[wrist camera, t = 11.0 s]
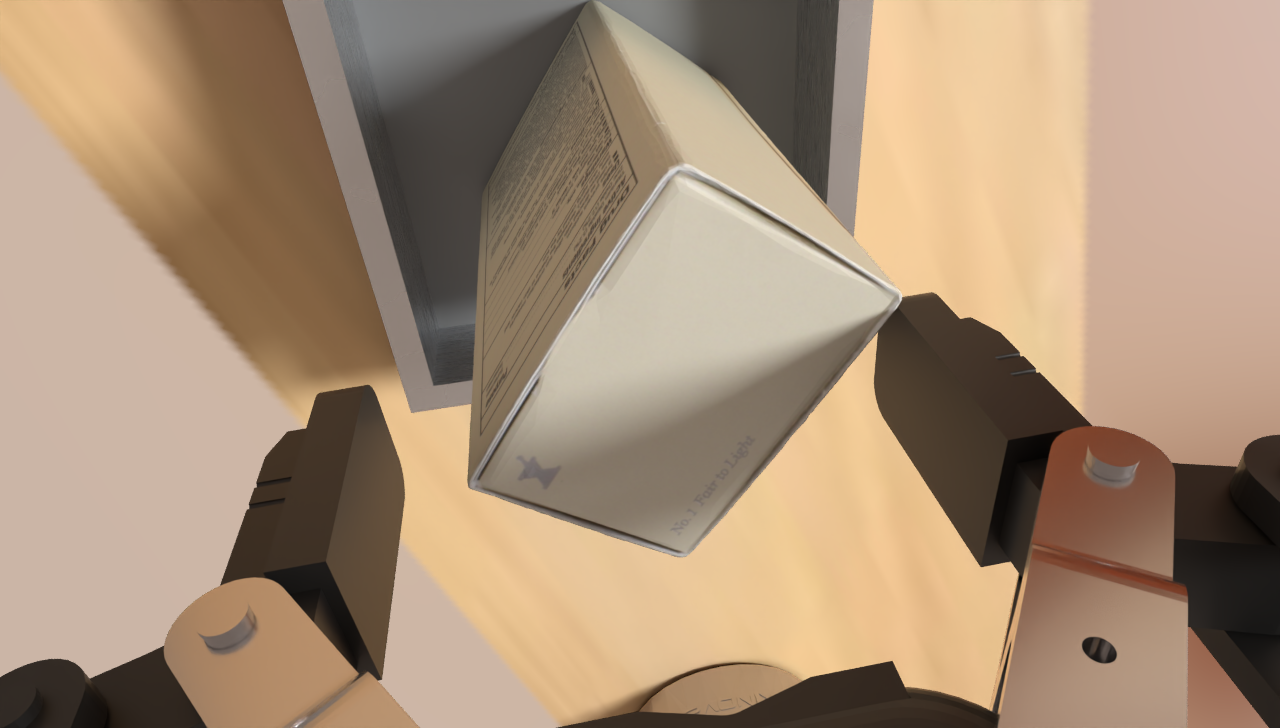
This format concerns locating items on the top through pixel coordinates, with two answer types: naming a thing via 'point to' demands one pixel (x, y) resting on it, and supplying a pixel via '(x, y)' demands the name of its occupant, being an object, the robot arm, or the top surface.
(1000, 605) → the top surface
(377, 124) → the shallow grey tray
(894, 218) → the top surface
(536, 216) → the skincare box
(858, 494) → the top surface
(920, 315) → the robot arm
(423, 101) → the slate base plate
